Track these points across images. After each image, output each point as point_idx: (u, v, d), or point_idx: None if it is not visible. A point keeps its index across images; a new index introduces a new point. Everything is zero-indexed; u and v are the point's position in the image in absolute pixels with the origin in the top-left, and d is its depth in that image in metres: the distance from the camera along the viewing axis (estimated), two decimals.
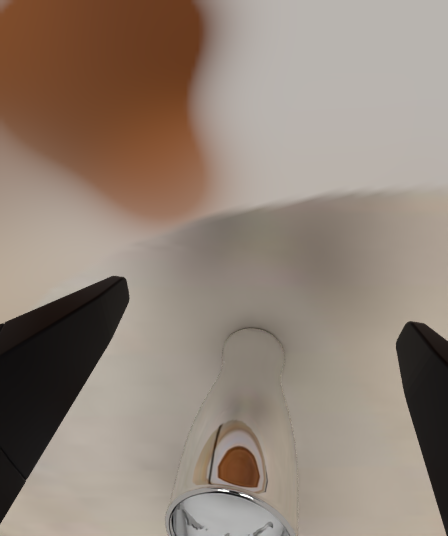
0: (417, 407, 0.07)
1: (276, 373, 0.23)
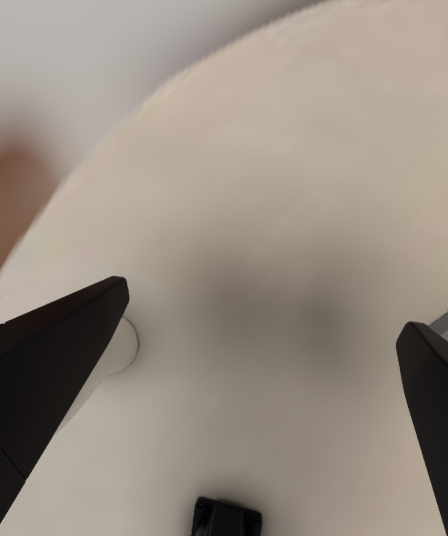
0: (417, 407, 0.07)
1: None
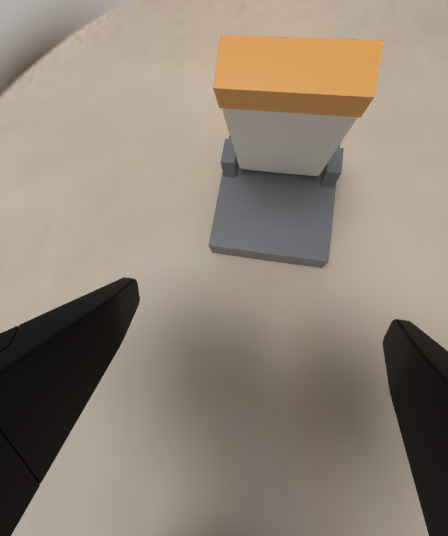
0: (401, 404, 0.07)
1: None
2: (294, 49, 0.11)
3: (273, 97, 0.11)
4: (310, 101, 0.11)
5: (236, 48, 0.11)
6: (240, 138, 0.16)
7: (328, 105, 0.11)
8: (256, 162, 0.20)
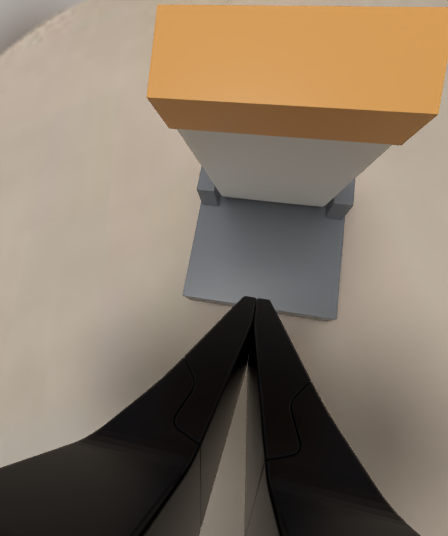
0: (248, 374, 0.08)
1: None
2: (288, 27, 0.06)
3: (252, 113, 0.06)
4: (317, 120, 0.06)
5: (185, 27, 0.06)
6: (214, 166, 0.11)
7: (349, 127, 0.06)
8: (241, 191, 0.15)
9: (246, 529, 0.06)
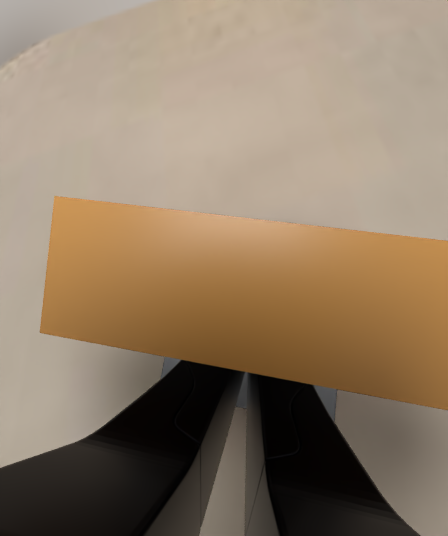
0: (248, 374, 0.08)
1: None
2: (252, 251, 0.04)
3: None
4: None
5: (96, 234, 0.04)
6: None
7: None
8: None
9: (246, 529, 0.06)
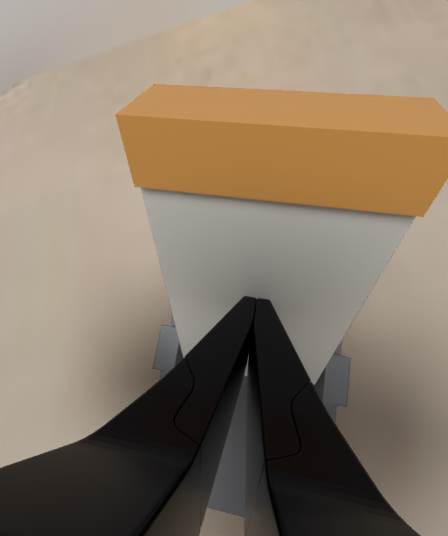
0: (248, 375, 0.08)
1: None
2: (279, 96, 0.06)
3: (240, 145, 0.05)
4: (320, 159, 0.05)
5: (177, 91, 0.06)
6: (181, 287, 0.09)
7: (359, 174, 0.05)
8: None
9: (246, 529, 0.06)
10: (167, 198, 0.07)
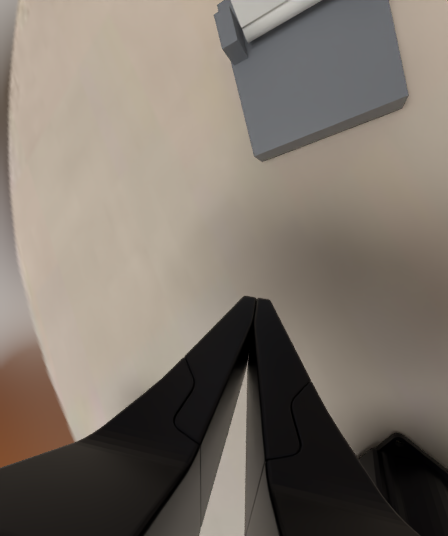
0: (248, 374, 0.08)
1: None
2: None
3: None
4: None
5: None
6: None
7: None
8: None
9: (246, 529, 0.06)
10: None
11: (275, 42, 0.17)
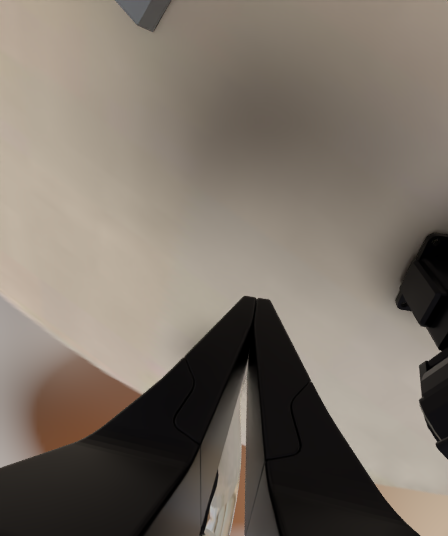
0: (248, 375, 0.08)
1: None
2: None
3: None
4: None
5: None
6: None
7: None
8: None
9: (246, 529, 0.06)
10: None
11: None
